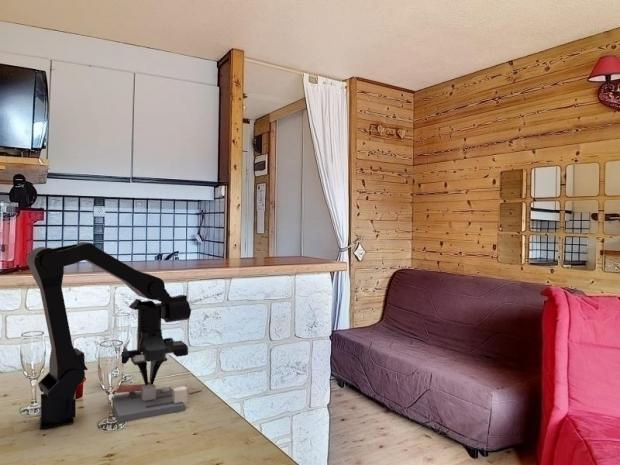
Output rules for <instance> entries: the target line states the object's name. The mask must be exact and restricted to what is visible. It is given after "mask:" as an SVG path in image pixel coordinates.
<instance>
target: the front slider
mask: <svg viewBox="0 0 620 465" xmlns="http://www.w3.org/2000/svg"><path fill="white" fill-rule="evenodd" d="M171 389H172V401H173V402H174V403H180V402H183V403H185V402H187V401H188V388H187V387H186V386H184V385H183V386H177V387H171Z"/></svg>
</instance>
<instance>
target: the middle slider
mask: <svg viewBox="0 0 620 465" xmlns="http://www.w3.org/2000/svg"><path fill="white" fill-rule="evenodd" d="M156 387H157V386H156V385H155V384H154V383H153V384H151V385H144V386H141V391H140V392H141V399H142V400H143V401H147V400H153V399H156V389H157V388H156Z"/></svg>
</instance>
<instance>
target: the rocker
mask: <svg viewBox="0 0 620 465" xmlns="http://www.w3.org/2000/svg"><path fill="white" fill-rule="evenodd" d="M144 385H145V383H141V384H125V385H121V386H119V388H118V389H117V391H116V393H115V394H120V393H129V392H141V386H144ZM148 385H151V384H150V381H148Z"/></svg>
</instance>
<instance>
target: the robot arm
mask: <svg viewBox="0 0 620 465" xmlns="http://www.w3.org/2000/svg"><path fill="white" fill-rule="evenodd" d="M26 260H27V261H26V262H27V265H28V267H29V270H30V273H31V275H32V278H33V279H34V281H35V283H36V286H38V288H39V292H40V296H41V297H40V298H41V301H42V307H43V308H42V309H43V312H44V316H45V322H46V327H47V331H48V332H47V334H48V337H49V338H48V339H49V342H50V355H49V364H48V366H49V371H48V372H47V374H46V375H45V376H44V377H42V379H41V380H40V381H38V383H37V386H38V388H39V391H40V392H41V394H40V416H39V429H41V430H44V429H50V428H55V427H62V426H67V425H71V424H72V425H73V424H74V419H75V418H76V414H77V412H76V410H77V408H76V405H77V400H76V396H75V395H76V392H77V389H78V387H79V385H81V384H82V383H83V381H84V380H85V377H86V371H87V370H89V368H88V367H87V366H86V364H85V360H86V359H85V358H86V357H85V353H84V352H83V351H82V350H80V349H79V348H77V347H74V346H73V340H72V335H71V330H70V325H69V320H68V314H67V309H66V305H65V304H66V303H65V298H64V293H63V288H62V287H63V286H62V284H63V280H64V274H65V267H66V266H71V265H74V264H77V263H80V262H84V261H85V262H87V263H89V264H91V265H92V266H94V267H96V268H98V269H100V270H102V271H103V272H105V273H107V274H109V275H111V276H112V277H114V278H116V279H118V280H120V281H121V282H123V283H124V284H125V285H126V286H127V287H128V288H129V289H130V290H131V291H132V292H134V294H136V295H137V296H139V297H141V298H143V299H148V300H146V301H145V300H144V301H142V300H141V299H138V298H135V300H134V301H133V302H132V303H131V304H130V305H128V308H130V309H131V310H134V311H137V331H136V332H137V345H136V348H137V349H131V350H128V348H126V347H125V346H123V347H124V349H123V352H122V355H121V356H122V363H123V364H122V365H126V364H127V363H128V362H129V361H130V362H132V364H133V365H134V366H137V367H138V368H139V369H138V370H139V371H140V375H141V376H142V380H143V384H145V385H148V382H150V384H154V383H155V379H156V376H157V374H158V371H159V369H160V367H161V365H162V364H164V362H167V361H168V358H167V354H172V355H174V356H175V357H184V356H185V357H186V356H189V347H188V345H187V344H186V343H185V342H183V341H182V340H176V341H175V340H174V339H173V337H166V338H163V331H162V320H164V322H165V323H174V322H179V321H180V322H181V321H187V320H189V319H190V317H191V314H192V313H191V312H192V308H191V307H190V306H191V304H190V303H189V301H188V299H187V298H188V296H187V295H186V294H179V295H178V294H177V295H176V296H175V295H174V296H171V295H170V293H169V292H168V291H167V289H166V287H165V282H164V280H163V279H161V278H160V277H157V276H155V275H152V274H150V273H145V272H143V271H140V270H137V269H135V268H133V267H132V266H130V265H128V264H126V263H125V262H123V261H121V260H119V259H117V258H115V257H114V256H112V255H111V254H109V253H108V252H106V251H104V250H102V249H100V248H98V247H97V246H96V245H95V244H94V243H91V242H90V241H89V242H87V241H79V242H78V243H75V244H71V245H70V244H69V245H64V246H57V247H54V248H52V247H47V246H38V247H36V248H33V249H32V250H31V251H30V252H29V253H28V255H27V257H26ZM154 301H157V302H158V303H157V302H156V303H155V302H154ZM148 362H150V367H149V368H150V370H149V378H148V368H147V365H148Z"/></svg>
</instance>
